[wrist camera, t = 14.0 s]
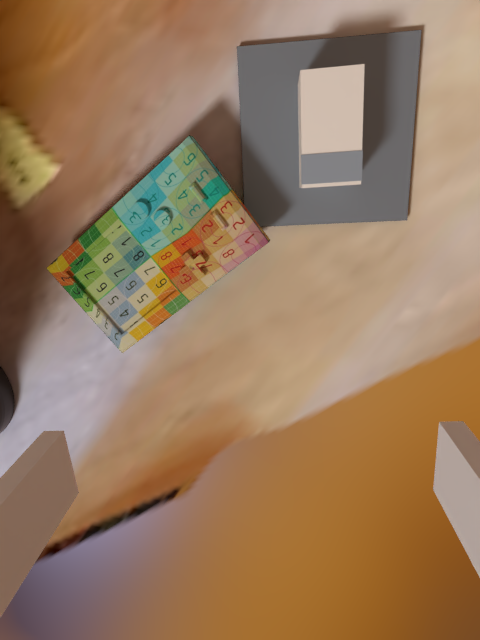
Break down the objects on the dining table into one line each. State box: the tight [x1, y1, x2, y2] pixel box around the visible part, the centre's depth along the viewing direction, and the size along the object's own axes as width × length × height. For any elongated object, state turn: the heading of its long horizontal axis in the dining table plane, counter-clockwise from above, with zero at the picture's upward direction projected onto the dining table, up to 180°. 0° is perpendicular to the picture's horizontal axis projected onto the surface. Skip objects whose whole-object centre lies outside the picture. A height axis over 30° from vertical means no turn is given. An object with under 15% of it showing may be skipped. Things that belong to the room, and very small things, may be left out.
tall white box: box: [298, 64, 365, 188], centre depth 36 cm, size 9×5×5 cm, turn 4°
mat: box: [237, 30, 421, 227], centre depth 39 cm, size 16×16×1 cm
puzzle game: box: [47, 135, 270, 353], centre depth 41 cm, size 12×5×20 cm
